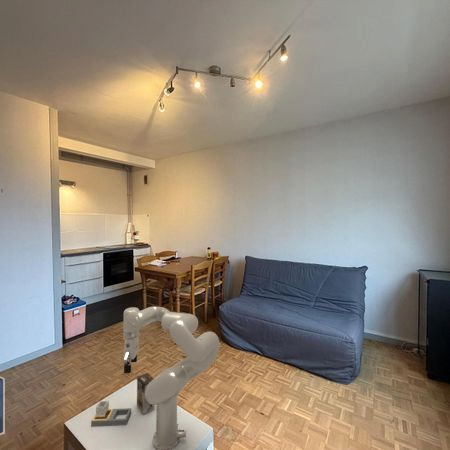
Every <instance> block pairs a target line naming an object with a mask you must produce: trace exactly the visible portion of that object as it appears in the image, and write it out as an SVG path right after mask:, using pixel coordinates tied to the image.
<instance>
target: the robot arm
mask: <svg viewBox="0 0 450 450" xmlns="http://www.w3.org/2000/svg"><path fill="white" fill-rule="evenodd" d="M153 322H160V323H161V324H160V326H161V329H162V330H163V331H165V332H169V335H170V338H171V339H172V340H173V342H174V343H175V345H177V347H178V348H179V349H180V351H181V352H182V353H183V354H184V356H185V357H186V358H184V359H183V360H181V361H178V362H177V363H175V364H174V365H173V366H172V367H167V368H165V369H164V370H163V371H161V372H160V373H159V374H157V376H156V377H153V380H152V381H151V382H150V383H149V384H148V385H147V387H146V389H145V398H146V400H147V402H148V403H150V404H151V405H154V406H156V413H155V415H156V416H155V417H156V418H155V420H156V423H155V426H156V427H155V433H154V434H153V437H152V445H153V447H154V449H156V450H172V449H174V448H175V447H176V446H177V445H178V443H179V442H180V439H181V438H186V437H187V431H186V430H185V427H179V423H178V399H179V398H178V395H179V393H180V392H182V390H183V389H184V388H185V387H186V386H187V385H188V383H189V382H190V381H191V380H193V379H194V378H196V377H198V376H200V375H201V374H202V373H205V371H206V370H208V369H210V367H211V366H212V365H213V364H214V362H215V361H216V360H217V357H218V355H219V351H220V338H219V336H218V335H217V334H216V332H213V331H206V332H203V333H202V334H200V335H198V337H196V338H195V336H194V335H193V333H195V331H196V330H197V329H198V326H199V320H198V318H197V316H196V315H194V314H191V313H185V312H174V311H170V310H169V309H167V308H165V307H162V306H149V307H146V308H144V309H142V310H140V309H139V308H138V307H132V306H131V307H128V308H125V310H124V311H123V328H122V329H123V330H122V331H123V333H122V334H123V335H122V338H123V339H124V345H123V373H124V374H131V373H132V364H131V363H137V362H138V353H139V351H140V347H139V346H140V343H139V342H140V341H139V336H140V329H141V328H144V327H146V326H147V325H150V324H151V323H153Z"/></svg>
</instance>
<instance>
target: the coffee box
mask: <svg viewBox="0 0 450 450" xmlns="http://www.w3.org/2000/svg"><path fill="white" fill-rule="evenodd" d="M136 378H137V379H136V383H137V384H136V386H137V387H136V407H137V408H138V409H139V411H140V412H141V414H142V415H143V416H144V415H147V414H149V412H151V411H154V410H155V405H151V404H150V403H148V402H147V400H146V398H145V389H146V387H147V385H148V384H149V383H150V382H151V381H152V380H153V379H154V377H153V376H152V375H150V373H148V372H146V373H144V374H141V375H139V376H137V377H136Z"/></svg>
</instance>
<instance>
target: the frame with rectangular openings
mask: <svg viewBox="0 0 450 450" xmlns="http://www.w3.org/2000/svg"><path fill="white" fill-rule="evenodd" d="M119 415H120V416H123V415H124V416H125V418H117V416H119ZM131 415H132V408H130V407H128V408H109V415H108V417H107V419H96V413H95V415H94V416H93V418H92V420H91V421H90V424H91V425H90V426H91V427H109V426H126V425H127V424H128V421H129V419H130V417H131Z"/></svg>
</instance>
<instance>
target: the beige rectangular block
mask: <svg viewBox="0 0 450 450" xmlns="http://www.w3.org/2000/svg"><path fill="white" fill-rule="evenodd" d="M109 405H110V401H109V400H101V401H98V404H97V405H96V407H95V414H96V419H107V417H108V415H109V409H110V406H109Z"/></svg>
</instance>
